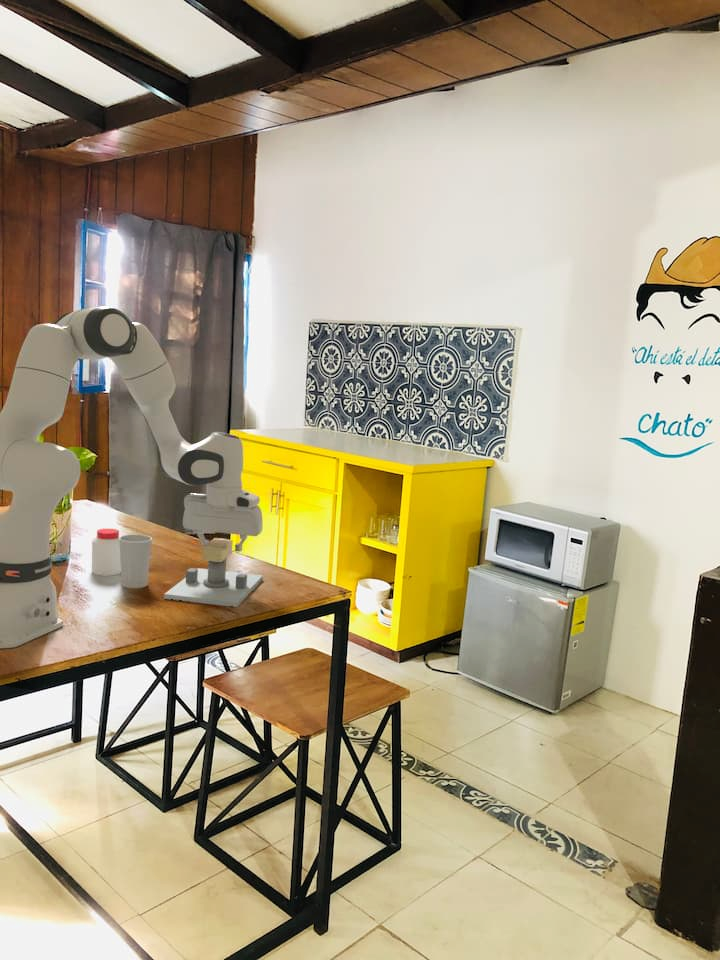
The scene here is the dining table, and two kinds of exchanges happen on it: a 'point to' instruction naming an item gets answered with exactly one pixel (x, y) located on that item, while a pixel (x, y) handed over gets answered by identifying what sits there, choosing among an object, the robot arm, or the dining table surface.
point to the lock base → (214, 586)
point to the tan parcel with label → (217, 550)
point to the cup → (134, 560)
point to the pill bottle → (106, 553)
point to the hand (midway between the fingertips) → (221, 549)
